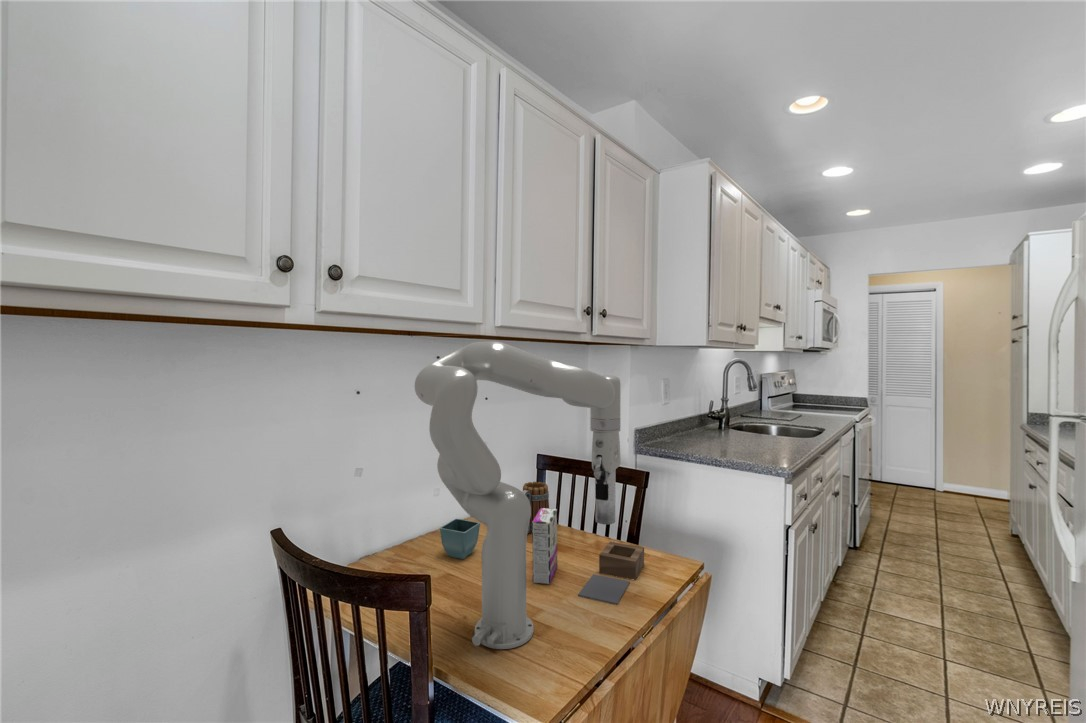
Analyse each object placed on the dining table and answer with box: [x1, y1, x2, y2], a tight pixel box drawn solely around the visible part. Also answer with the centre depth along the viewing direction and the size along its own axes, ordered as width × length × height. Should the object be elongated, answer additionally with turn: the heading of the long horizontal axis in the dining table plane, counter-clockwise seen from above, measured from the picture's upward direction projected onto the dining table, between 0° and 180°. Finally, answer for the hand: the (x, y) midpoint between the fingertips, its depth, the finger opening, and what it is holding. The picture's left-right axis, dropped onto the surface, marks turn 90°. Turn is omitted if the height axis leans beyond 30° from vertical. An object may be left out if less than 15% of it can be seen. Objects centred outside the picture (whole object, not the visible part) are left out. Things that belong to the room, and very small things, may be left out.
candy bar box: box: [531, 507, 558, 585], centre depth 130 cm, size 11×5×16 cm, turn 168°
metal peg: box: [594, 469, 617, 525], centre depth 122 cm, size 5×5×14 cm
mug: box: [521, 481, 550, 534], centre depth 162 cm, size 16×11×15 cm
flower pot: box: [439, 518, 481, 560], centre depth 143 cm, size 9×9×9 cm
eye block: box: [598, 541, 645, 581], centre depth 134 cm, size 10×10×5 cm
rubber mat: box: [577, 573, 631, 606], centre depth 122 cm, size 12×10×1 cm
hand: (605, 495), depth 122 cm, fingers closed on metal peg, 5 cm apart
